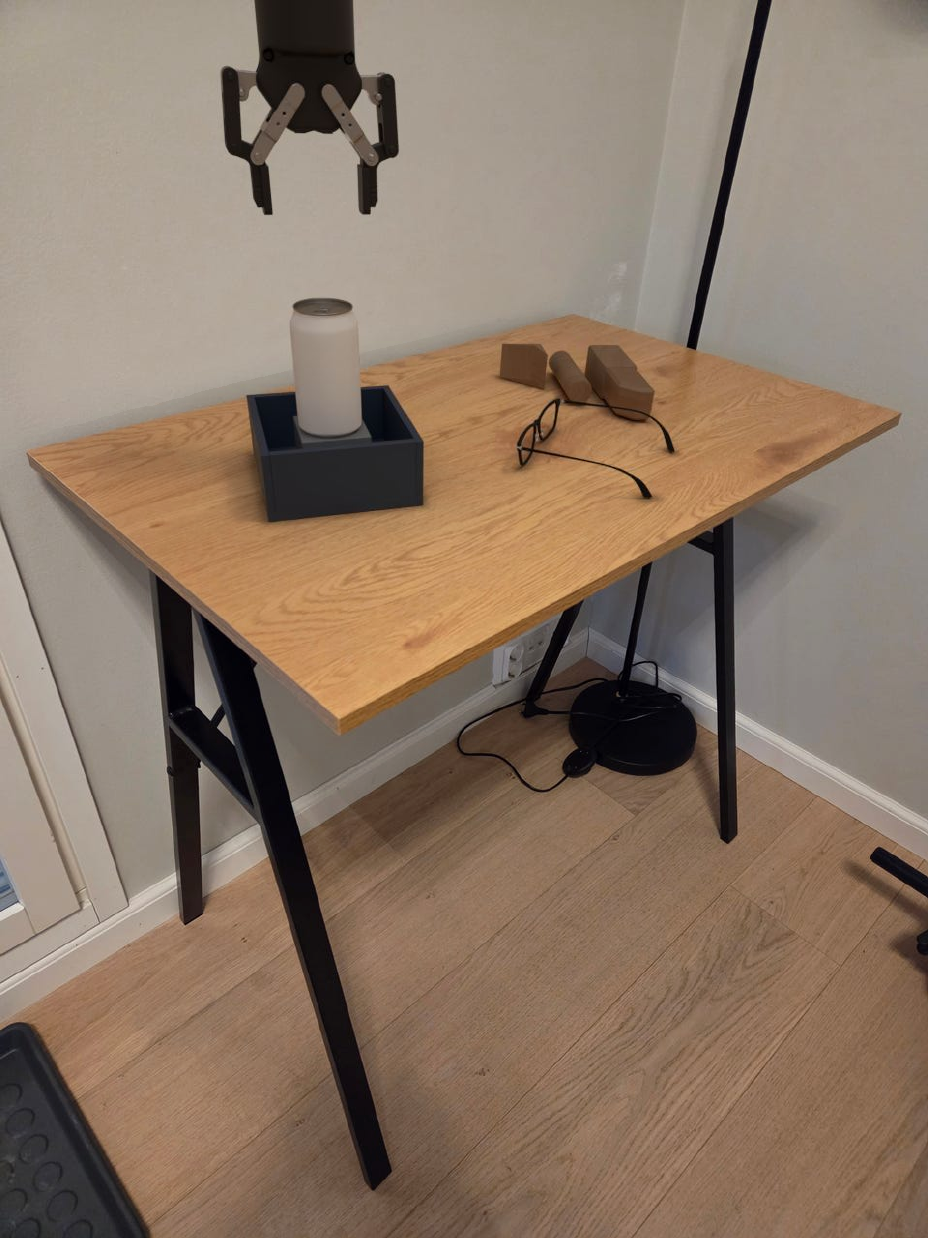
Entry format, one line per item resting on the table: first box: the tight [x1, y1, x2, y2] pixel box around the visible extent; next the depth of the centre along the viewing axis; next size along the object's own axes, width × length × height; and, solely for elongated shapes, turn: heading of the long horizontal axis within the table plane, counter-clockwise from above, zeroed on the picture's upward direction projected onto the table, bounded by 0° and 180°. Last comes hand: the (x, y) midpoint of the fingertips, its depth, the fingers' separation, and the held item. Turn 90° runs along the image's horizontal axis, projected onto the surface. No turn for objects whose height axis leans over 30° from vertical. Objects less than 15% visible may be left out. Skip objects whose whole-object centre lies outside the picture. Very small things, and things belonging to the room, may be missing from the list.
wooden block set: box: [499, 343, 656, 421], centre depth 105 cm, size 17×6×18 cm
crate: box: [246, 384, 425, 523], centre depth 83 cm, size 16×16×7 cm
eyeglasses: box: [515, 397, 676, 499], centre depth 90 cm, size 16×16×4 cm
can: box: [289, 297, 362, 438], centre depth 78 cm, size 6×6×12 cm
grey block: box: [293, 416, 372, 449], centre depth 83 cm, size 7×7×5 cm
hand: (317, 213), depth 69 cm, fingers open, 8 cm apart
